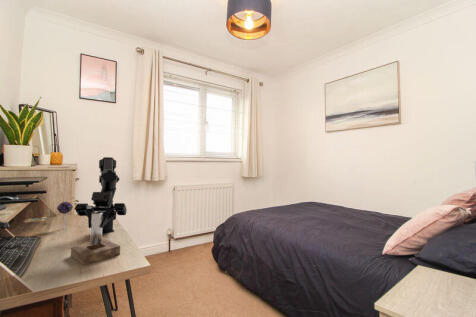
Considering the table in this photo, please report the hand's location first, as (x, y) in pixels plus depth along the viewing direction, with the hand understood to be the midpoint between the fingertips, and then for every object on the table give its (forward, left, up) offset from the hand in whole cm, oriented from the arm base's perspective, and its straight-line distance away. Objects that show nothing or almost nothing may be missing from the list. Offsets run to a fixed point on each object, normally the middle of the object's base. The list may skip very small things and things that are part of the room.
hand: (95, 227), depth 91 cm
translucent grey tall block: (-1, -1, -7) cm, 7 cm away
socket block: (-1, -1, -12) cm, 12 cm away
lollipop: (-6, -53, -12) cm, 55 cm away
